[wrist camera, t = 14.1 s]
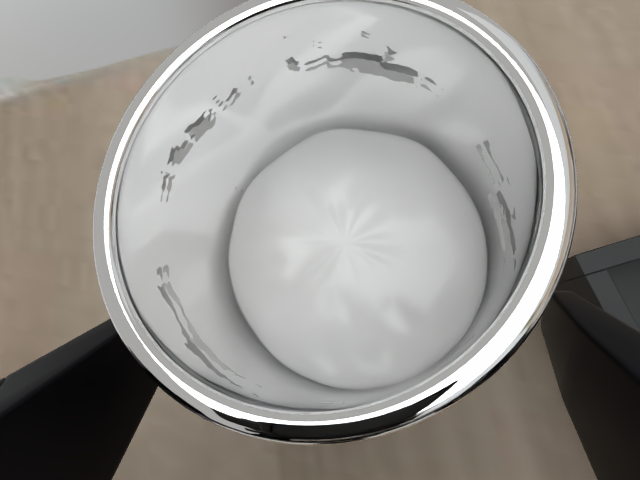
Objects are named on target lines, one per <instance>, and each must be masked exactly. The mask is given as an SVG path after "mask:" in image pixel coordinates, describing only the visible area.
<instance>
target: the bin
mask: <svg viewBox="0 0 640 480" xmlns="http://www.w3.org/2000/svg"><path fill="white" fill-rule="evenodd" d="M555 291H572V292H574V293H576V294H577V295H579V296H581V297H582V298H584V299H586V300H587V301H589V302H591V303H592V304H594V305H596V306H597V307H599V308H600V309H602V310H604V311H605V312H607V313H609V314H610V315H612V316H614V317H615V318H617V319H619V320H620V321H622V322H624V323H625V324H627V325H629V326H630V327H632V328H634V329H635V330H637V331H639V332H640V235H639V236H636V237H632V238H629V239H626V240H623V241H620V242H616V243H613V244H610V245H607V246H603V247H600V248H597V249H594V250H591V251H587V252H584V253H581V254H578V255H575V256H572V257H570V258H568V259H567V262H566V265H565V268H564V271H563V274H562V276H561V278H560V281H559V283H558V286H557V288H556V290H555Z"/></svg>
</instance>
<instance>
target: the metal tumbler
mask: <svg viewBox="0 0 640 480" xmlns="http://www.w3.org/2000/svg"><path fill="white" fill-rule="evenodd" d="M577 201H578V180H577V167H576V159H575V152H574V147H573V143H572V138H571V135H570V131H569V128H568V124H567V121H566V118H565V115H564V113H563V111H562V108H561V106H560V103H559V101H558V99H557V97H556V95H555V93H554V91H553V89H552V87H551V86H550V84H549V82H548V80H547V79H546V77H545V76H544V74H543V72H542V71H541V70H540V68H539V67H538V65H537V64H536V63H535V61H534V60H533V59H532V58H531V56H530V55H529V54H528V53H527V52H526V50H525V49H524V48H523V47H522V46H521V45H520V44H519V43H518V42H517V41H516V40H515V39H514V38H513V37H512V36H511V35H510V34H509V33H508V32H507V31H506V30H504V29H503V28H502V27H501V26H499V25H498V24H497V23H496V22H494V21H493V20H492V19H490V18H489V17H487V16H486V15H484V14H483V13H481V12H480V11H478V10H477V9H475V8H473V7H471V6H470V5H468V4H466V3H464V2H462V1H460V0H249V1H247V2H245V3H243V4H240V5H239V6H237V7H235V8H233V9H231V10H229V11H227V12H226V13H224V14H222V15H220V16H219V17H217V18H216V19H214V20H212V21H211V22H209V23H208V24H206V25H205V26H204V27H202V28H201V29H199V30H198V31H197V32H195V33H194V34H193V35H192V36H190V37H189V38H188V39H187V40H185V41H184V42H183V43H182V44H181V45H180V46H179V47H177V48H176V49H175V50H174V51H173V52H172V53H171V54H170V55H169V56H168V57H167V58H166V59H165V60H164V61H163V62H162V63H161V64H160V65H159V66H158V68H157V69H156V70H155V71H154V72H153V73H152V75H151V76H150V77H149V78H148V80H147V81H146V82H145V83H144V85H143V86H142V87H141V89H140V90H139V91H138V93H137V94H136V96H135V97H134V99H133V100H132V102H131V103H130V105H129V107H128V108H127V110H126V112H125V114H124V115H123V117H122V119H121V121H120V123H119V125H118V127H117V129H116V131H115V133H114V135H113V138H112V140H111V142H110V145H109V147H108V150H107V153H106V156H105V159H104V162H103V165H102V168H101V172H100V176H99V180H98V185H97V190H96V195H95V202H94V211H93V253H94V262H95V268H96V273H97V278H98V283H99V286H100V290H101V294H102V297H103V300H104V303H105V306H106V309H107V311H108V314H109V316H110V318H111V320H112V322H113V325H114V327H115V329H116V331H117V332H118V334H119V336H120V338H121V340H122V341H123V343H124V345H125V346H126V348H127V349H128V351H129V352H130V354H131V355H132V357H133V358H134V359H135V361H136V362H137V363H138V364H139V366H140V367H141V368H142V369H143V371H144V372H145V373H146V374H147V375H148V376H149V377H150V378H151V379H152V380H153V381H154V382H155V383H156V384H157V385H158V386H159V387H160V388H161V389H162V390H163V391H164V392H166V393H167V394H168V395H169V396H170V397H172V398H173V399H174V400H175V401H177V402H178V403H180V404H181V405H182V406H184V407H185V408H187V409H188V410H190V411H192V412H193V413H195V414H196V415H198V416H200V417H202V418H203V419H205V420H207V421H209V422H211V423H214V424H216V425H218V426H220V427H222V428H225V429H227V430H230V431H233V432H235V433H238V434H241V435H245V436H248V437H252V438H256V439H260V440H265V441H270V442H276V443H282V444H291V445H336V444H345V443H352V442H358V441H364V440H368V439H373V438H377V437H381V436H384V435H388V434H391V433H394V432H397V431H400V430H403V429H406V428H408V427H411V426H413V425H415V424H418V423H420V422H422V421H424V420H427V419H429V418H431V417H433V416H435V415H437V414H439V413H440V412H442V411H444V410H446V409H448V408H449V407H451V406H452V405H454V404H456V403H457V402H459V401H460V400H462V399H463V398H465V397H466V396H467V395H469V394H470V393H472V392H473V391H474V390H476V389H477V388H478V387H479V386H481V385H482V384H483V383H484V382H486V381H487V380H488V379H489V378H490V377H491V376H492V375H493V374H495V373H496V372H497V371H498V370H499V369H500V368H501V367H502V366H503V365H504V364H505V363H506V362H507V361H508V360H509V358H510V357H511V356H512V355H513V354H514V353H515V352H516V351H517V350H518V348H519V347H520V346H521V345H522V343H523V342H524V341H525V340H526V338H527V337H528V336H529V334H530V333H531V331H532V330H533V329H534V327H535V326H536V324H537V323H538V321H539V319H540V318H541V316H542V315H543V313H544V311H545V309H546V308H547V306H548V304H549V302H550V300H551V298H552V296H553V294H554V292H555V290H556V288H557V286H558V283H559V281H560V278H561V276H562V274H563V271H564V268H565V265H566V262H567V258H568V255H569V252H570V248H571V244H572V239H573V234H574V229H575V223H576V215H577Z"/></svg>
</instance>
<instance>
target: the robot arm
mask: <svg viewBox="0 0 640 480" xmlns="http://www.w3.org/2000/svg"><path fill="white" fill-rule="evenodd" d="M541 328H542V333H543V336H544V339H545V343H546V346H547V349H548V353H549V356H550V359H551V363H552V366H553V369H554V372H555V376H556V379H557V382H558V386H559V389H560V392H561V395H562V398H563V400H564V403H565V405H566V408H567V410H568V413H569V415H570V417H571V420H572V422H573V424H574V426H575V429H576V431H577V433H578V436H579V438H580V440H581V443H582V445H583V447H584V449H585V452H586V454H587V456H588V459H589V461H590V463H591V466H592V468H593V470H594V473H595V475H596V477H597V479H598V480H640V332H639V331H637V330H635V329H634V328H632V327H630V326H629V325H627V324H625V323H624V322H622V321H620V320H619V319H617V318H615V317H614V316H612V315H610V314H609V313H607V312H605V311H604V310H602V309H600V308H599V307H597V306H596V305H594V304H592V303H591V302H589V301H587V300H586V299H584V298H582V297H581V296H579V295H577V294H576V293H574V292H572V291H555V292H554V294H553V296H552V298H551V300H550V302H549V304H548V306H547V308H546V309H545V311H544V313H543V315H542V319H541ZM157 387H158V385H157V384H156V383H155V382H154V381H153V380H152V379H151V378H150V377H149V376H148V375H147V374H146V373H145V372H144V371H143V369H142V368H141V367H140V366H139V364H138V363H137V362H136V361H135V359H134V358H133V357H132V355H131V354H130V352H129V351H128V349H127V348H126V346H125V345H124V343H123V341H122V340H121V338H120V336H119V334H118V332H117V331H116V329H115V327H114V325H113V322H112V320H111V319H109V320H107V321H105V322H104V323H102V324H100V325H98V326H96V327H95V328H93V329H91V330H89V331H87V332H86V333H84V334H82V335H80V336H78V337H77V338H75V339H73V340H71V341H69V342H68V343H66V344H64V345H62V346H60V347H59V348H57V349H55V350H53V351H51V352H50V353H48V354H46V355H44V356H42V357H41V358H39V359H37V360H35V361H33V362H32V363H30V364H28V365H26V366H24V367H23V368H21V369H19V370H17V371H16V372H14V373H12V374H10V375H8V376H7V378H3V379H1V380H0V480H112V478H113V476H114V474H115V472H116V470H117V468H118V466H119V464H120V462H121V460H122V458H123V456H124V454H125V452H126V450H127V448H128V446H129V444H130V442H131V440H132V438H133V436H134V434H135V432H136V430H137V428H138V426H139V424H140V422H141V420H142V417H143V415H144V413H145V411H146V409H147V407H148V405H149V403H150V401H151V399H152V397H153V395H154V393H155V391H156V389H157Z"/></svg>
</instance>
